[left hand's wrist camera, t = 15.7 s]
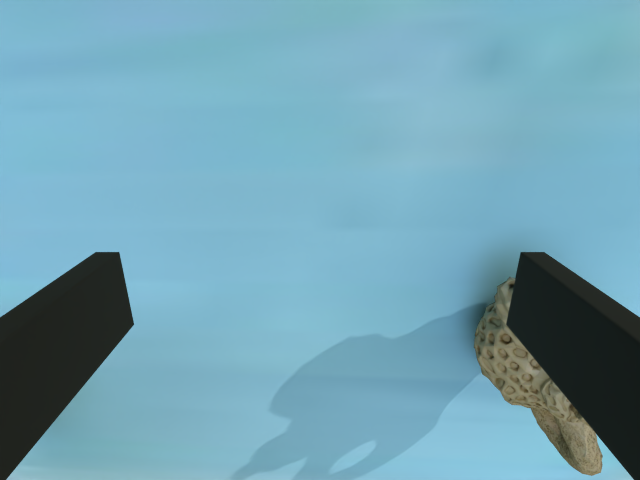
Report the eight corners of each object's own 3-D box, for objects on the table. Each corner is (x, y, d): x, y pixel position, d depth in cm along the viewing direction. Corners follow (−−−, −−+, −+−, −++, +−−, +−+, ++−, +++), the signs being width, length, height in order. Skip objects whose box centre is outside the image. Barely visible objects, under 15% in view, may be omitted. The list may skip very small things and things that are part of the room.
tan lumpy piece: (436, 269, 42) (494, 355, 28) (538, 229, 41) (654, 299, 26) (487, 404, 49) (554, 527, 35) (576, 375, 47) (684, 491, 33)
